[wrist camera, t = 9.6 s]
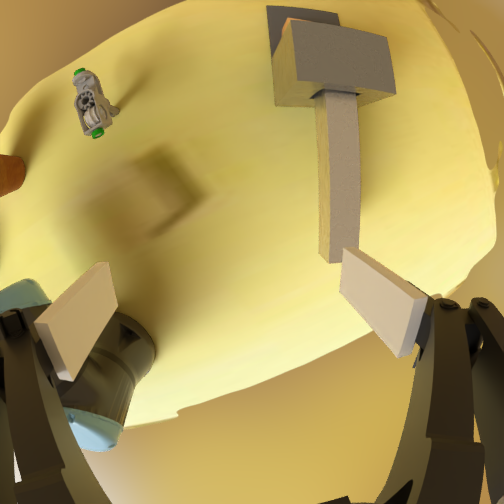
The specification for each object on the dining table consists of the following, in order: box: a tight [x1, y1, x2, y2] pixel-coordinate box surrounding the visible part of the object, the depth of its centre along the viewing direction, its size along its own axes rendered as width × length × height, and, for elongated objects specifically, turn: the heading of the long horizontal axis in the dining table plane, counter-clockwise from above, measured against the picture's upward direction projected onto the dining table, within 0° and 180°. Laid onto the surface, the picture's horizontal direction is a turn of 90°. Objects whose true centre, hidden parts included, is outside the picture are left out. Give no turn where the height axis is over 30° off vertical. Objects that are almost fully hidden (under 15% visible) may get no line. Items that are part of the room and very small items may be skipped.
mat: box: [266, 6, 340, 59], centre depth 31 cm, size 12×12×1 cm
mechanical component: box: [72, 68, 119, 139], centre depth 28 cm, size 3×10×10 cm, turn 21°
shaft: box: [314, 89, 361, 264], centre depth 30 cm, size 26×4×4 cm, turn 3°
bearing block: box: [272, 20, 396, 108], centre depth 28 cm, size 8×12×13 cm, turn 93°
